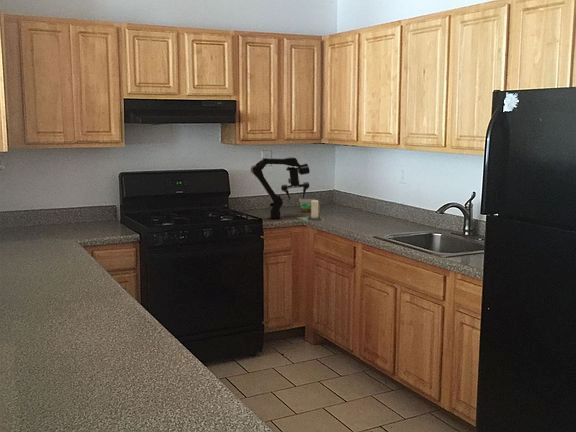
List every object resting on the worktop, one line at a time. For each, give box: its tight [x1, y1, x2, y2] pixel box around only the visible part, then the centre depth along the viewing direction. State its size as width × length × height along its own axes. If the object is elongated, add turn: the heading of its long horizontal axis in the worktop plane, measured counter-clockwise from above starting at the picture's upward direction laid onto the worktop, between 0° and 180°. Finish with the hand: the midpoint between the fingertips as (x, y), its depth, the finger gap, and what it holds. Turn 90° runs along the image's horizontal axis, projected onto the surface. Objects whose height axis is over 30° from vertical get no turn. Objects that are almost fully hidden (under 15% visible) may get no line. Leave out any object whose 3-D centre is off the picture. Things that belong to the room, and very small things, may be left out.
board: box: [296, 215, 325, 222], centre depth 433 cm, size 14×17×2 cm
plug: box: [310, 199, 320, 218], centre depth 430 cm, size 5×5×12 cm
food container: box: [298, 198, 317, 214], centre depth 461 cm, size 12×6×10 cm, turn 73°
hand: (296, 198), depth 440 cm, fingers open, 9 cm apart
